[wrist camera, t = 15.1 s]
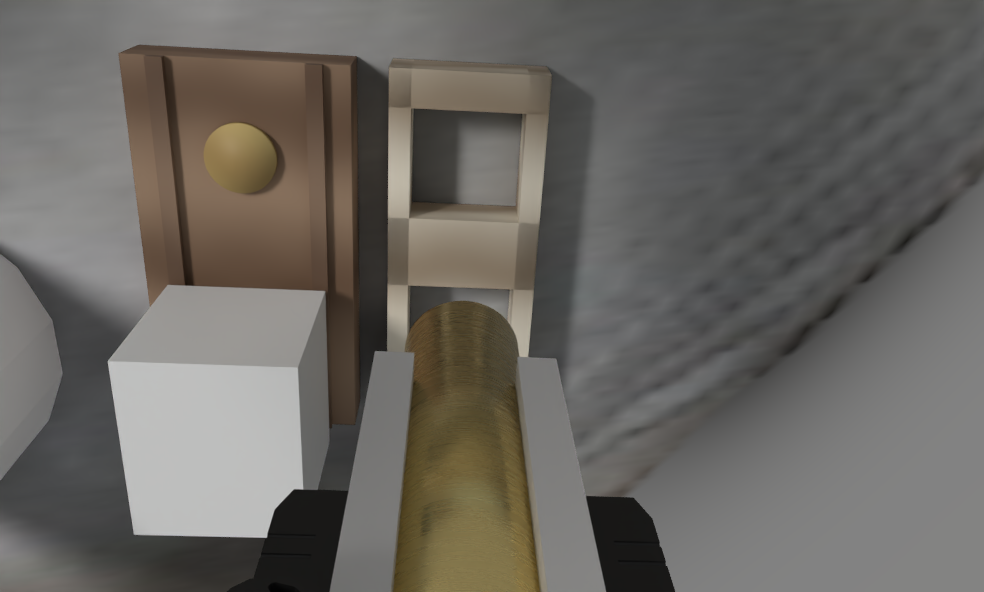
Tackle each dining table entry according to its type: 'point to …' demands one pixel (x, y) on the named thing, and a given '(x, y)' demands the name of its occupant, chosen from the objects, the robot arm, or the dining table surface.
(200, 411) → the block
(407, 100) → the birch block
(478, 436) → the brass pin
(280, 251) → the walnut board
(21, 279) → the container
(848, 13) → the dining table surface
